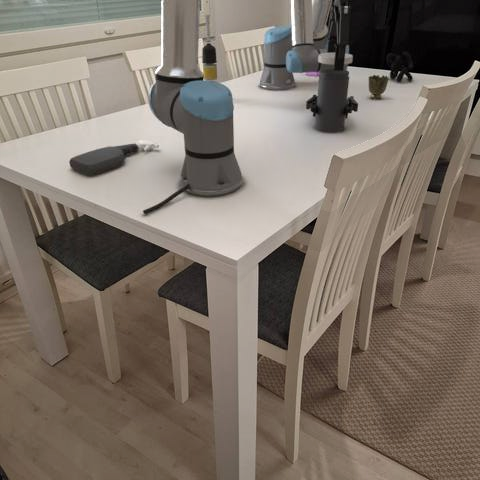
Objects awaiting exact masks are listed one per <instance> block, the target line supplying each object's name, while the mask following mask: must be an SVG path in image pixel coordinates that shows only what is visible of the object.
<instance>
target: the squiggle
mask: <svg viewBox="0 0 480 480" xmlns="http://www.w3.org/2000/svg"><path fill="white" fill-rule="evenodd" d="M401 57H402V59H401ZM391 59H392V60H391ZM393 60H394V61H393ZM385 61H386V64H387V67H390V68H391V70H390V72H389V78H390V79H391V80H395V79H396V81H397V82H399V83H400V82H402V81H403V79H404V76H406V78H407V80H408V81H412V80H413V79H414V77H413V75H412V74H411V73H410V72H409V71H410V70H412V69H413V68H414V64H413V61H412V57H411V54H410V53H409V52H408V51H403V53H402V54H401V55H396V54H394V53H392V52H390V53H387V55H386V57H385ZM406 62H407V65H408V66H407V67H405V66H404V65H405V64H406ZM400 70H401V71H400Z"/></svg>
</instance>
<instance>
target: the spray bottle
mask: <svg viewBox="0 0 480 480" xmlns="http://www.w3.org/2000/svg"><path fill="white" fill-rule="evenodd" d="M159 148H160V145H159V144H158V143H155V142H151V141H148V140H144V139H139V140H138V141H137V142H135V143H129V144H128V143H126V144H122V145H113V146H105V147H100V148H97V149H94V150H90V151H87V152H83V153H81V154H78V155H74V156H73V157H70V159H69V161H68V162H69V167H70V168H71V169H72V170H74V171H75V172H78V173H81V174H83V175H85V176H89V177H90V176H91V177H92V176H95V175H99V174H102V173H105V172H107V171H110V170H113V169H116V168H118V167H120V166H122V165H123V164H124V163H125V158H126V156H127V155H131V154H133V153H138V151H140V150H143V151H144V152H146V151H147V150H149V149H159Z"/></svg>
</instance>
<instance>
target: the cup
mask: <svg viewBox="0 0 480 480" xmlns="http://www.w3.org/2000/svg"><path fill="white" fill-rule="evenodd" d="M389 78H390V76H389V77H388V75H385V74H383V75H381V76H380V74H377V75H376V74H373V75H369V76H368V91H369V93H370V94H371V95H370V96H371V99H380V98H381V97H382V94H384V93H385V91H386V89H387V86H388V82H389Z"/></svg>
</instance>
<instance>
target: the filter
mask: <svg viewBox="0 0 480 480" xmlns="http://www.w3.org/2000/svg"><path fill="white" fill-rule="evenodd" d="M210 17H211V14H204V18H205V27H206V29H205V30H206V31H205V33H206V39H207V40H206V42H207V43H206V45H204V46H202V49H201V50H202V51H201V52H202V54H201V55H202V57H201V58H202V61H201V63H202V73H203V74H204V78H203V80H205V81H210V82H216V80H218V64H216V63H218V61H217V48H216V47H215V46H214V45H212V43H210V42H211V40H210V39H211V31H210V29H211V28H210Z"/></svg>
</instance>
